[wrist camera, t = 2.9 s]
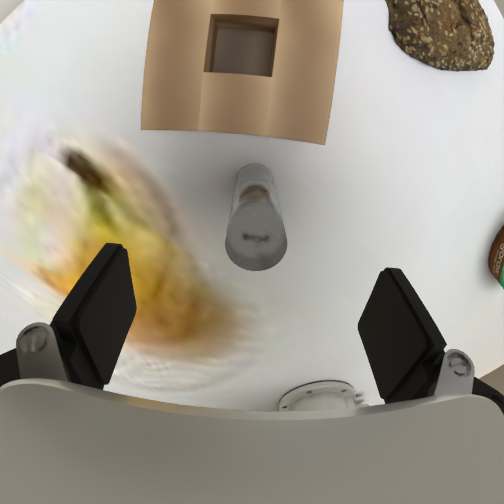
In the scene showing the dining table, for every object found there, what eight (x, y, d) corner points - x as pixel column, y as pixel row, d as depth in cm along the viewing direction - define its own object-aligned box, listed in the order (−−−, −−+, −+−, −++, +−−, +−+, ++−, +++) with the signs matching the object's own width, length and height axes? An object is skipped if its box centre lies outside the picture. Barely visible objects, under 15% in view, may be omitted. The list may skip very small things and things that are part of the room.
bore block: (327, 4, 15) (344, -15, 11) (310, 135, 21) (324, 145, 17) (177, -7, 15) (160, -29, 10) (162, 123, 21) (140, 130, 16)
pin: (274, 166, 23) (291, 220, 13) (270, 199, 24) (281, 273, 15) (238, 162, 23) (227, 213, 13) (235, 196, 24) (223, 268, 15)
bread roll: (486, 80, 17) (518, 85, 13) (393, 65, 18) (423, 61, 14) (463, -22, 10) (490, -30, 6) (363, -50, 12) (383, -71, 7)
